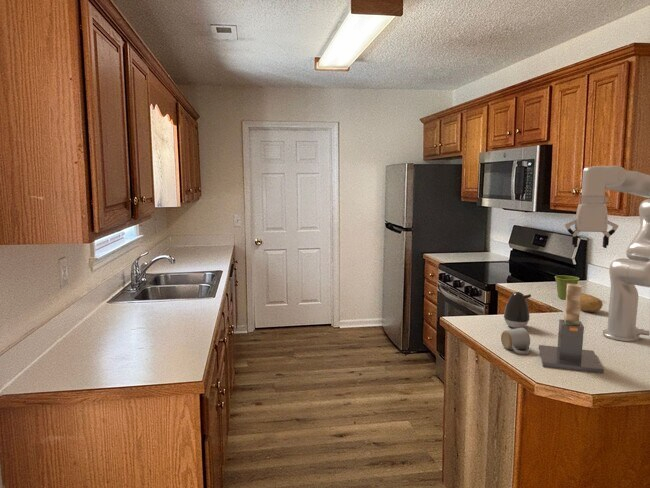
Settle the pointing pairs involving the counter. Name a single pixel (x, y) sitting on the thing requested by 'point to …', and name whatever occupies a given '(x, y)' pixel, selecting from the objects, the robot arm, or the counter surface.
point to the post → (572, 304)
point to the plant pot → (564, 284)
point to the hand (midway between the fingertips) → (589, 247)
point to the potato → (590, 303)
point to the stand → (570, 351)
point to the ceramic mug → (516, 340)
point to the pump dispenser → (517, 310)
